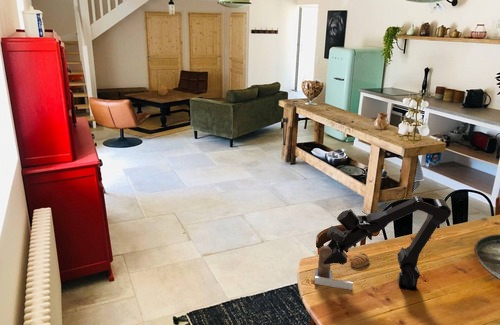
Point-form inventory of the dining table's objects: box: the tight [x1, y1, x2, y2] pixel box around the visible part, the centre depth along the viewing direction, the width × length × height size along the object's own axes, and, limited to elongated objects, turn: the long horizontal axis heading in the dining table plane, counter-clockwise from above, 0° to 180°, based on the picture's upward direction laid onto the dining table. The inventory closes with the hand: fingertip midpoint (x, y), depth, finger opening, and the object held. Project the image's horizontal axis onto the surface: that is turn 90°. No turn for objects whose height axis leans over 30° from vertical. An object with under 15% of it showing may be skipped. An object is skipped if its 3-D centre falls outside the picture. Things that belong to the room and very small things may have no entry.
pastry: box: [350, 252, 371, 269], centre depth 178 cm, size 9×7×4 cm
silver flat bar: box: [314, 275, 354, 291], centre depth 163 cm, size 15×1×3 cm, turn 76°
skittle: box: [317, 245, 332, 278], centre depth 168 cm, size 5×5×14 cm
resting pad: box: [313, 267, 333, 280], centre depth 170 cm, size 7×7×1 cm
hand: (323, 257), depth 167 cm, fingers open, 9 cm apart
